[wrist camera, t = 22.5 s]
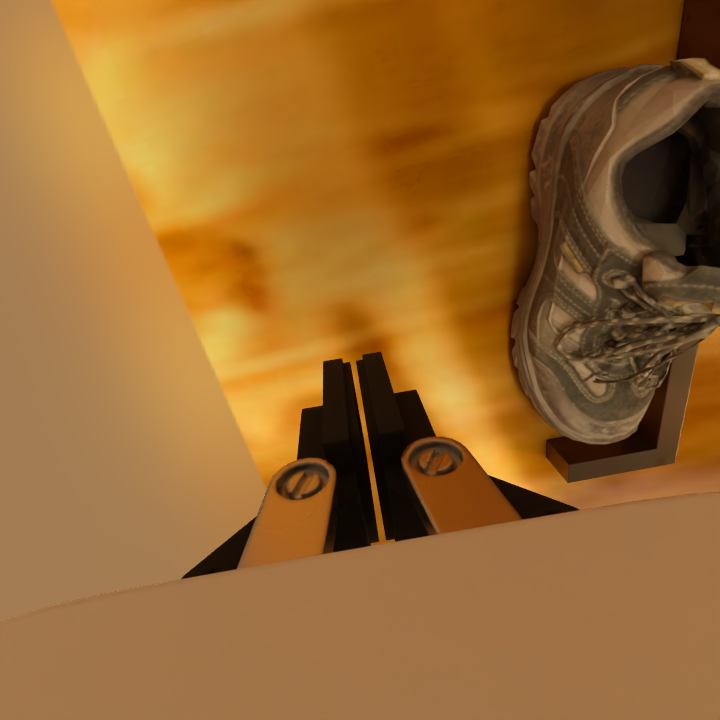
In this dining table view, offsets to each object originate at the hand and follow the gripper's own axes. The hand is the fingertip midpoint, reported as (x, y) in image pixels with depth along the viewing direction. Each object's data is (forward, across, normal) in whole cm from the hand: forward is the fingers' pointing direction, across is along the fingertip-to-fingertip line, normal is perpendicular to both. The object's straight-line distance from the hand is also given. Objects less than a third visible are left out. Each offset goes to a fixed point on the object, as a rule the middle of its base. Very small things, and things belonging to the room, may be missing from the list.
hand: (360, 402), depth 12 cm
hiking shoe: (+14, -14, +2) cm, 21 cm away
